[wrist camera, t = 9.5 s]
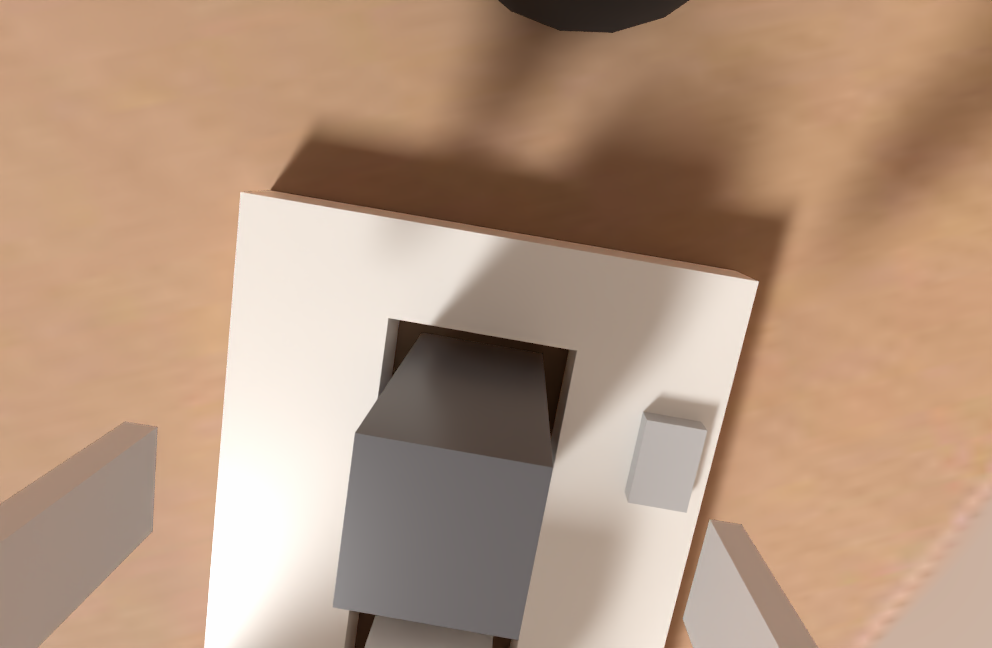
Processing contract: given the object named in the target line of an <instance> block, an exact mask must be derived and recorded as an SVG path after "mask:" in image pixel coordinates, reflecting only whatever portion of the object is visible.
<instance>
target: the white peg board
mask: <svg viewBox="0 0 992 648" xmlns="http://www.w3.org/2000/svg"><path fill="white" fill-rule="evenodd" d="M758 283H759V281H757V280H755V279H752V278H750V277H748V276H746V275H744V274H742V273H739V272H737V271H735V270H729V269H723V268H717V267H712V266H706V265H700V264H694V263H688V262H683V261H677V260H671V259H665V258H659V257H654V256H648V255H642V254H636V253H630V252H625V251H619V250H613V249H607V248H602V247H596V246H590V245H584V244H578V243H573V242H567V241H561V240H555V239H549V238H544V237H538V236H532V235H526V234H520V233H515V232H509V231H503V230H497V229H491V228H486V227H480V226H474V225H468V224H462V223H457V222H451V221H445V220H439V219H433V218H428V217H422V216H416V215H410V214H405V213H399V212H393V211H387V210H381V209H376V208H370V207H364V206H358V205H352V204H347V203H341V202H335V201H329V200H323V199H318V198H312V197H306V196H300V195H294V194H289V193H283V192H277V191H271V190H265V191H249V192H241V194H240V207H239V219H238V232H237V244H236V257H235V270H234V282H233V295H232V307H231V320H230V333H229V345H228V358H227V370H226V383H225V395H224V408H223V421H222V433H221V446H220V458H219V471H218V484H217V496H216V509H215V521H214V534H213V546H212V559H211V572H210V584H209V597H208V609H207V622H206V635H205V647H204V648H355V641H356V633H357V626H358V619H359V612H356V611H351V610H345V609H339V608H334V607H333V600H334V592H335V585H336V577H337V569H338V561H339V553H340V545H341V538H342V530H343V522H344V514H345V506H346V499H347V491H348V483H349V475H350V467H351V460H352V452H353V444H354V436H355V432H356V431H357V429H358V428H359V426H360V425H361V423H362V422H363V420H364V419H365V417H366V416H367V414H368V413H369V411H370V409H371V408H372V406H373V405H374V403H375V402H376V400H377V399H378V397H379V396H380V394H381V393H382V391H383V390H384V388H385V387H386V385H387V384H388V382H389V381H390V379H391V378H392V373H393V366H394V359H395V351H396V344H397V337H398V330H399V322H400V320H403V321H409V322H414V323H420V324H426V325H432V326H437V327H443V328H449V329H455V330H460V331H466V332H472V333H478V334H483V335H489V336H495V337H501V338H506V339H512V340H518V341H524V342H529V343H535V344H541V345H547V346H552V347H558V348H564V349H569V352H568V357H567V362H566V367H565V372H564V377H563V382H562V387H561V392H560V397H559V402H558V407H557V412H556V417H555V422H554V427H553V432H552V437H551V449H552V460H553V471H552V476H551V481H550V486H549V491H548V496H547V501H546V506H545V511H544V516H543V521H542V526H541V531H540V536H539V540H538V545H537V550H536V555H535V560H534V565H533V570H532V575H531V580H530V585H529V590H528V595H527V600H526V605H525V610H524V615H523V620H522V625H521V630H520V635H519V640H515V639H511V643H510V648H664V645H665V641H666V638H667V634H668V630H669V626H670V622H671V618H672V615H673V611H674V607H675V603H676V599H677V595H678V591H679V588H680V584H681V580H682V576H683V572H684V568H685V564H686V561H687V557H688V553H689V549H690V545H691V541H692V537H693V534H694V530H695V526H696V522H697V518H698V514H699V511H700V507H701V503H702V499H703V495H704V491H705V487H706V484H707V480H708V476H709V472H710V468H711V464H712V460H713V457H714V453H715V449H716V445H717V441H718V437H719V433H720V430H721V426H722V422H723V418H724V414H725V410H726V406H727V403H728V399H729V395H730V391H731V387H732V383H733V380H734V376H735V372H736V368H737V364H738V360H739V356H740V353H741V349H742V345H743V341H744V337H745V333H746V329H747V326H748V322H749V318H750V314H751V310H752V306H753V302H754V299H755V295H756V291H757V287H758ZM492 644H493V636H492V635H487V634H481V633H475V632H470V631H464V630H458V629H453V628H447V627H441V626H436V625H430V624H424V623H419V622H413V621H407V620H402V619H396V618H390V617H385V616H379V615H375V618H374V621H373V624H372V627H371V630H370V633H369V636H368V638H367V641H366V644H365V647H364V648H492Z"/></svg>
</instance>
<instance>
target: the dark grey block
mask: <svg viewBox="0 0 992 648" xmlns="http://www.w3.org/2000/svg"><path fill="white" fill-rule="evenodd" d="M552 471H553V460H552V449H551V438H550V427H549V416H548V405H547V394H546V383H545V373H544V362H543V353H537V352H532V351H526V350H520V349H514V348H509V347H503V346H497V345H491V344H486V343H480V342H474V341H468V340H463V339H457V338H451V337H445V336H440V335H434V334H428V333H421V334H420V336H419V337H418V339H417V340H416V342H415V343H414V345H413V346H412V348H411V349H410V351H409V352H408V354H407V355H406V357H405V358H404V360H403V361H402V363H401V364H400V366H399V367H398V369H397V370H396V372H395V373H394V375H393V376H392V378H391V379H390V381H389V382H388V384H387V385H386V387H385V388H384V390H383V391H382V393H381V394H380V396H379V397H378V399H377V400H376V402H375V403H374V405H373V406H372V408H371V409H370V411H369V413H368V414H367V416H366V417H365V419H364V420H363V422H362V423H361V425H360V426H359V428H358V429H357V431H356V432H355V436H354V444H353V452H352V460H351V467H350V475H349V483H348V491H347V499H346V506H345V514H344V522H343V530H342V538H341V545H340V553H339V561H338V569H337V577H336V585H335V592H334V600H333V607H334V608H339V609H345V610H351V611H356V612H362V613H368V614H373V615H379V616H385V617H390V618H396V619H402V620H407V621H413V622H419V623H424V624H430V625H436V626H441V627H447V628H453V629H458V630H464V631H470V632H475V633H481V634H487V635H492V636H498V637H503V638H509V639H515V640H519V635H520V630H521V625H522V620H523V615H524V610H525V605H526V600H527V595H528V590H529V585H530V580H531V575H532V570H533V565H534V560H535V555H536V550H537V545H538V540H539V536H540V531H541V526H542V521H543V516H544V511H545V506H546V501H547V496H548V491H549V486H550V481H551V476H552Z"/></svg>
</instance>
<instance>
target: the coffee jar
mask: <svg viewBox="0 0 992 648" xmlns="http://www.w3.org/2000/svg"><path fill="white" fill-rule="evenodd" d="M499 1H500V2H501V3H502V4H503V5H505V6H506V7H507V8H508V9H509V10H510V11H512V12H515V13H517V14H520V15H522V16H525V17H527V18H530V19H532V20H535V21H537V22H540V23H542V24H545V25H547V26H550V27H552V28H555V29H557V30H560V31H584V32H609V33H613V32H616V31H620V30H623V29H626V28H630V27H633V26H637V25H640V24H643V23H647V22H650V21H653V20H657V19H660V18H664V17H665V16H667V15H668V14H670V13H671V12H673V11H674V10H676V9H677V8H679V7H680V6H682V5H683V4H684V3H686V2H687V1H689V0H499Z"/></svg>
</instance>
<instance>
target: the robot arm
mask: <svg viewBox="0 0 992 648" xmlns="http://www.w3.org/2000/svg"><path fill="white" fill-rule="evenodd" d="M157 428H158V427H155V426H149V425H143V424H137V423H131V422H123V423H122V424H120V425H119V426H117V427H116V428H114V429H113V430H111V431H110V432H108V433H107V434H105V435H104V436H102V437H101V438H99V439H98V440H96V441H95V442H93V443H92V444H90V445H89V446H87V447H86V448H84V449H83V450H81V451H80V452H78V453H77V454H75V455H74V456H72V457H71V458H69V459H67V460H66V461H64V462H63V463H61V464H60V465H58V466H57V467H55V468H54V469H52V470H51V471H49V472H48V473H46V474H45V475H43V476H42V477H40V478H39V479H37V480H36V481H34V482H33V483H31V484H30V485H28V486H27V487H25V488H24V489H22V490H21V491H19V492H18V493H16V494H15V495H13V496H12V497H10V498H8V499H7V500H5V501H4V502H2V503H1V504H0V648H38V647H39V646H40V645H41V644H42V643H43V642H44V641H45V640H46V639H47V638H48V637H49V635H50V634H51V633H52V632H53V631H54V630H55V629H56V628H57V627H58V626H59V625H60V624H61V623H62V622H63V621H64V620H65V619H66V618H67V617H68V616H69V615H70V614H71V613H72V612H73V611H74V610H75V609H76V608H77V607H78V606H79V605H80V604H81V603H82V602H83V601H84V600H85V599H86V598H87V597H88V596H89V595H90V594H91V593H92V592H93V591H94V590H95V589H96V588H97V587H98V586H99V585H100V584H101V583H102V582H103V581H104V580H105V579H106V578H107V577H108V576H109V575H110V574H111V573H112V572H113V571H114V570H115V569H116V568H117V567H118V566H119V565H120V564H121V563H122V562H123V561H124V560H125V559H126V558H127V557H128V556H129V555H130V553H131V552H132V551H133V550H134V549H135V548H136V547H137V546H138V545H139V544H140V543H141V542H142V541H143V540H144V539H145V538H146V537H147V536H148V535H149V534H150V533H151V532H152V530H153V510H154V489H155V469H156V448H157ZM683 621H684V624H685V627H686V630H687V632H688V635H689V638H690V641H691V643H692V646H693V648H818V646H817V645H816V643H815V642H814V640H813V638H812V637H811V635H810V634H809V632H808V630H807V629H806V627H805V626H804V624H803V622H802V621H801V619H800V618H799V616H798V614H797V613H796V611H795V609H794V608H793V606H792V605H791V603H790V601H789V600H788V598H787V597H786V595H785V593H784V592H783V590H782V589H781V587H780V585H779V584H778V582H777V581H776V579H775V577H774V576H773V574H772V573H771V571H770V569H769V568H768V566H767V564H766V563H765V561H764V560H763V558H762V556H761V555H760V553H759V552H758V550H757V548H756V547H755V545H754V544H753V542H752V540H751V539H750V537H749V536H748V534H747V532H746V531H745V529H744V527H743V526H742V524H736V523H730V522H724V521H718V520H712V519H710V520H709V524H708V527H707V531H706V535H705V538H704V542H703V546H702V549H701V553H700V557H699V560H698V564H697V568H696V572H695V575H694V579H693V583H692V586H691V590H690V594H689V597H688V601H687V605H686V609H685V612H684V616H683Z"/></svg>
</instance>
